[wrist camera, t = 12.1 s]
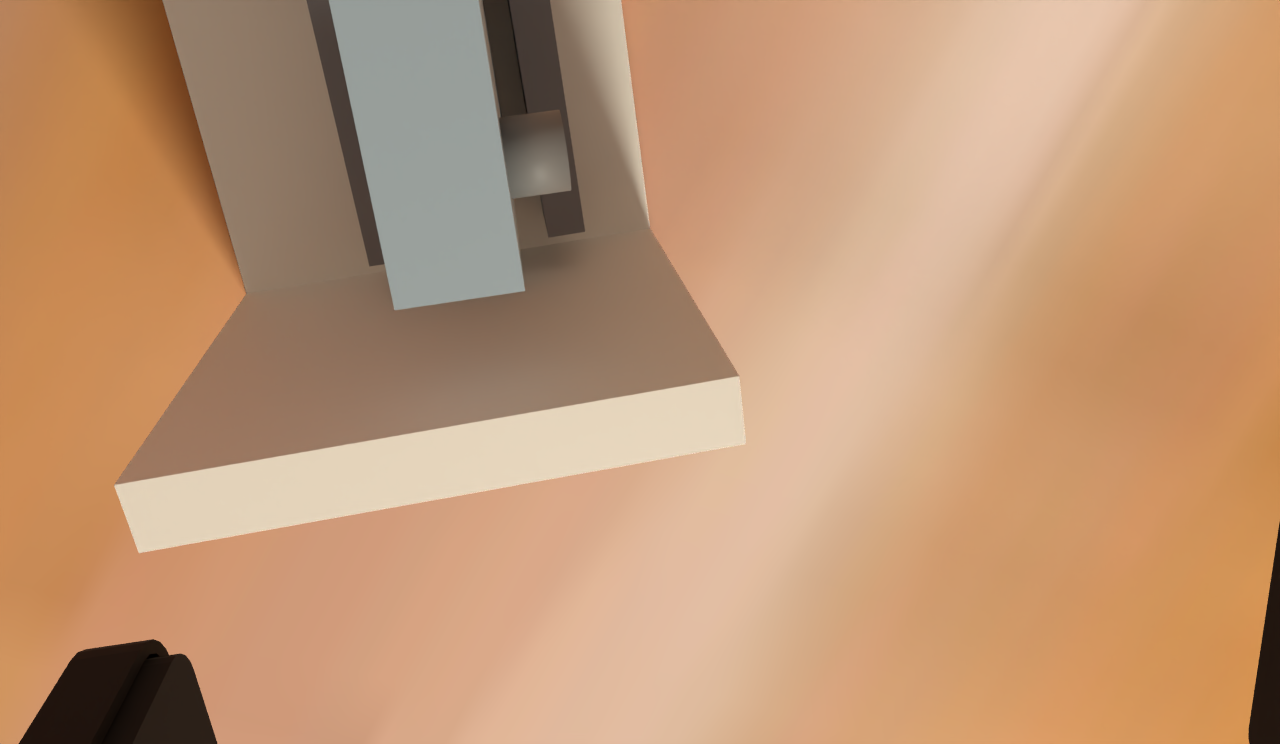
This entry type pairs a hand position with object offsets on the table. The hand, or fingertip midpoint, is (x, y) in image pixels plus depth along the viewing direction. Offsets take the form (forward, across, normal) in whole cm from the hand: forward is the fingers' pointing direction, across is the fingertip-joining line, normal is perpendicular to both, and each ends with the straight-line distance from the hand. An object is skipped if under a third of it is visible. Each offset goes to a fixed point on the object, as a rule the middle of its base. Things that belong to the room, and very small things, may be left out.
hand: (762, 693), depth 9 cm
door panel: (+24, +3, -5) cm, 24 cm away
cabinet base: (+24, +4, -5) cm, 25 cm away
